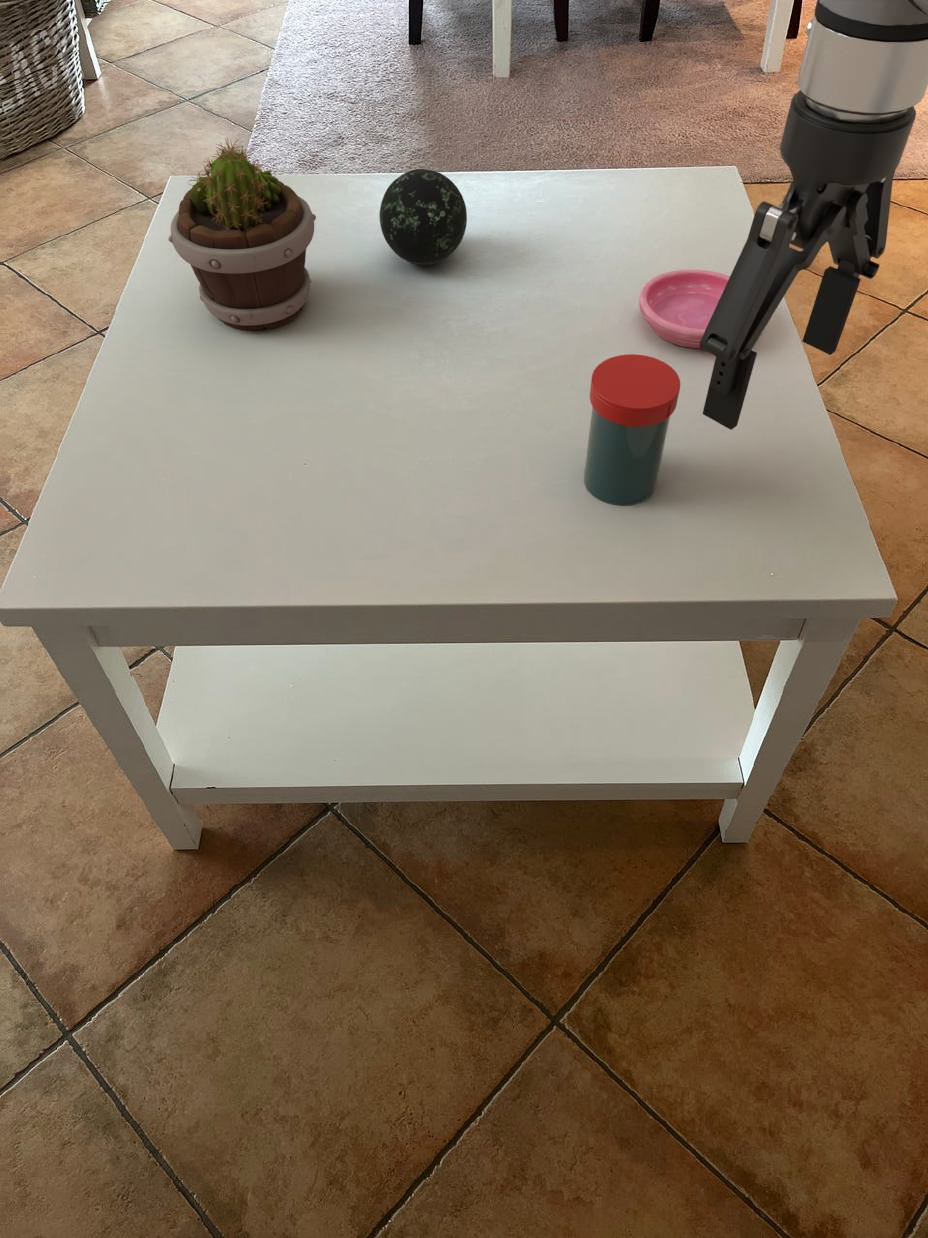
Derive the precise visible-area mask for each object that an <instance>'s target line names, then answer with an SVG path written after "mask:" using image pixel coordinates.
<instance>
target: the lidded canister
mask: <svg viewBox="0 0 928 1238" xmlns="http://www.w3.org/2000/svg"><path fill="white" fill-rule="evenodd" d="M670 419H671V416H669V418H667V419H665V420H664V421H662V422H660V423H657V424H654V425H650V426H642V427H632V426H625V425H620V424H617V423H614V422H611V421H609V420H607V419H605V418H604V417H602V416H601V415H599V414H598V413H597V412H596V411H595V410H594V408H593V407H592V406H591V416H590V423H589V432H588V439H587V448H586V457H585V466H584V474H583V482H584V485H585V488H586V489H587V491H588V492H589V493H590V494H591V495H592V496H593V497H595V498H596V499H597V500H600V501H602V502H603V503H607V504H609V505H610V504H611V505H616V506H631V505H636V504H639V503H642V502H644V501H646V500H648V499H649V498H650V497H651V496H652V494H653V493H654V492H655V491H656V487H657V482H658V478H659V473H660V468H661V464H662V458H663V454H664V448H665V443H666V439H667V433H668V428H669V423H670Z"/></svg>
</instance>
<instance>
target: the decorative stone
mask: <svg viewBox="0 0 928 1238" xmlns="http://www.w3.org/2000/svg"><path fill="white" fill-rule="evenodd" d="M467 222H468V213H467V205H466V202H465V199H464V196H463V195H462V193H461V191H460V190H459V188H458V187H457V185H456V184H455V183H454V182H453V181H452V180H451V179H450V178H449V177H447V176H446V175H445V174H443V173H441V172H439V171H435V170H433V169H427V168H415V169H412V170H409V171H407V172H404V173H402V174H401V175H400V176H398V177H397V178H396V179H394V180H393V181H392V182H391V183H390V184H389V186H388V187H387V188H386V190H385V192H384V194H383V197H382V199H381V203H380V208H379V225H380V229H381V233H382V235H383V239H384V240H385V242H386V243H387V246H389V248H390V249H391V250H392V252H394V254H395V255H397V256H398V257H400V259H403V260H405V262H409V263H412V264H417V265H424V266H425V265H426V266H427V265H428V266H429V265H433V264H436V263H440V262H442V261H444V260H445V259H447V258H448V257H449V256H451V255H452V254H453V253H454V252H455V251H456V250H457V248H458V247H459V246H460V244H461V243H462V242H463V241H462V240H463V239H464V236H465V233H466V229H467V224H468V223H467Z"/></svg>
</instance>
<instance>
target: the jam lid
mask: <svg viewBox="0 0 928 1238" xmlns="http://www.w3.org/2000/svg"><path fill="white" fill-rule="evenodd" d="M594 368H595V369H594V370H593V372H592V374H591V382H590V390H589V401H590V404H591V408H592V407H593V408H594V410H595V411H596V412H597V413H598V414H599V415H601V416H602V417H604V418H605V419H607V420H609V421H611V422H614V423H617V424H620V425H625V426H632V427H642V426H650V425H654V424H657V423H660V422H662V421H664V420H665V419H667V418H669V416H670V417H671V416H672V414H673V413H675V410H676V408H677V404H678V401H679V395H680V392H681V391H680V390H681V379H680V376H679V375H678V372H676V370H675V369H674V368H673V367H672V366H670V365H669V364H668V363H666V362H664V361H663V360H660V359H658V358H656V357H652V356H648V355H643V354H635V353H634V354H633V353H629V354H628V353H627V354H620V355H615V356H612V357H609V358H606V359H604V360H603V361H601V362H600V363H599V364H598V365H597V366H596V367H594Z"/></svg>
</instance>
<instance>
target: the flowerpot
mask: <svg viewBox="0 0 928 1238" xmlns="http://www.w3.org/2000/svg"><path fill="white" fill-rule="evenodd" d="M229 140H230V143H229ZM224 141H225V142H224V145H225V146H223V145H222V143H220V144H217V143H216V145H217V146H215V148H216V149H217V150H216V153H214V155H215V156H212V159H211V161H210V160H209V159H208V158H207V157H206V158H205V159H206V160H202V162H203V163H202V165H203V168H204V169H203V170H204V172H205V173H204V172H203V170H202V171H198V174H197V176H196V177H197V178H196V177H193V176H191V178H193V179H189V180H188V181H187V183H188V185H190V186H192V187H191V188H190V189H189V190H187V192H186V193H185V194H184V195H183V197H182V200H181V201H180V202H179V205H178V211H177V212H176V213H175V214H174V216H173V218H172V220H171V223H170V235H169V236H168V242H169V243H171V244H172V245H173V246H172V247H173V248H174V249H175V252H176V253H177V254H178V256H179V257H180V258H181V259H182V260H184V261H185V263H187V264H189V265H190V267H191V269H192V272H193V274H194V275H195V277H196V279H197V281H198V282H199V287H198V291H199V300H200V301H201V302H203V304H204V306H205V308H206V309H207V310H208V311H209V312H210V313H211V315H213V316H214V317H215V318H217V320H219V322H222V323H223V324H224V325H226V326H228V327H231V328H234V329H236V330H237V329H238V330H246V331H256V330H263V329H264V328H265V329H268V330H271V329H274V328H278V327H281V326H284V325H286V324H289V322H292V321H293V320H294V319H295V318H296V317H297V316H298V315H299V314H300V312H301V311H303V309H304V305H305V303H306V301H307V300H308V297H309V293H310V286H311V283H312V279H311V276H310V273H309V271H308V269H307V268H306V267H305V266H306V257H307V248H308V247H309V245H310V244H311V242H312V240H313V237H314V235H315V221H316V219H317V216H316V214H314V213H313V212H312V209H311V207H310V205H309V203H308V202H307V201H306V200H305V199H303V198H302V197H300V196H299V195H298V194H297V192H295V191H294V190H293V189H292V187H290V186H288V185H287V184H284V182H283V181H281V180H279V178H277V176H276V172H277V171H274V175H272V172H271V170H272V168H273V170H275V168H274V167H270V169H267V170H265V171H263V170H261V169H262V168H263V167H264V164H261V163H259V159H255V158H254V157H252V159H253V160H251V161H250V159H251V157H250V156H251V154H249V151H247V148H245V149H243V148H244V146H243V145H239V146H238V144H236V143H238V141H239V138H238V139H236V140H235V141H234V143H232V141H231V139H229V138H228V137H227V138H224ZM220 147H221V148H220ZM248 154H249V155H248ZM213 159H214V160H213ZM204 163H205V164H204ZM202 172H203V173H202ZM200 173H202V174H200ZM191 181H192V182H193V181H194V182H195V183H194V184H191V183H189V182H191Z"/></svg>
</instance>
